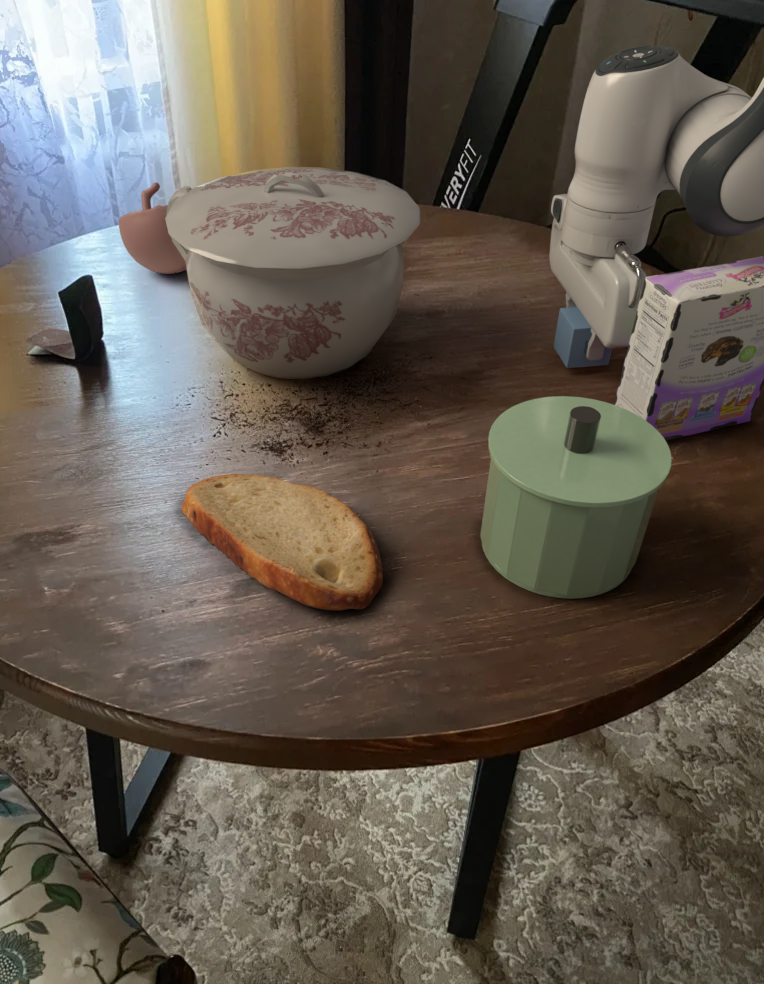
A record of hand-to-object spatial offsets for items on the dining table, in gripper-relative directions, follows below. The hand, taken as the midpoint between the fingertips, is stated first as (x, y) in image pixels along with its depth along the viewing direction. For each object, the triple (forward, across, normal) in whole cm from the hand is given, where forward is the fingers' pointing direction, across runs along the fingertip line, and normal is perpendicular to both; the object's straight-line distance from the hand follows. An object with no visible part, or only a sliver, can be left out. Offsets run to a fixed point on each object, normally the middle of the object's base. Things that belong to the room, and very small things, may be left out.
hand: (583, 342), depth 97 cm
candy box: (+3, -13, -7) cm, 15 cm away
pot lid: (-8, -30, +12) cm, 33 cm away
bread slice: (+2, -27, +37) cm, 46 cm away
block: (+2, 0, 0) cm, 2 cm away
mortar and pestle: (+2, +32, +48) cm, 58 cm away
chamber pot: (+2, +8, +32) cm, 33 cm away
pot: (+2, -30, +12) cm, 33 cm away
